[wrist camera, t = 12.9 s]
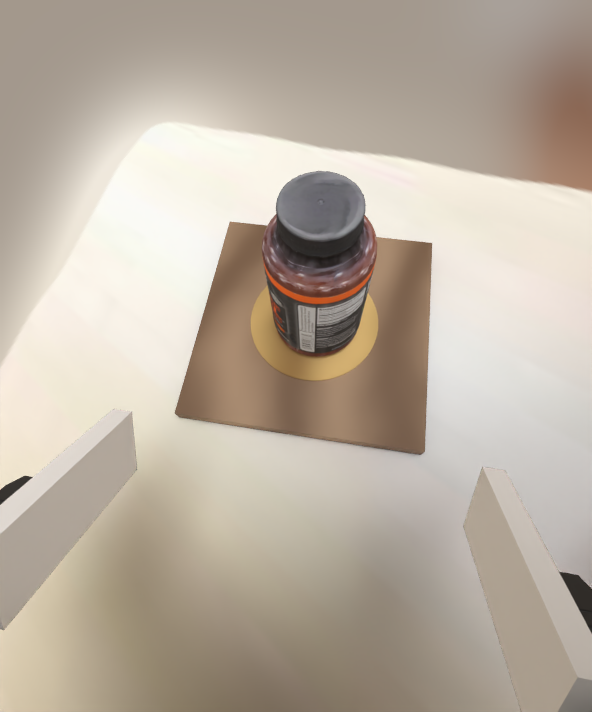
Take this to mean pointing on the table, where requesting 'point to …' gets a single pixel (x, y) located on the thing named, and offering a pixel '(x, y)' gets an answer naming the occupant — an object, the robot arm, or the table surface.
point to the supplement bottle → (319, 262)
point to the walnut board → (309, 373)
